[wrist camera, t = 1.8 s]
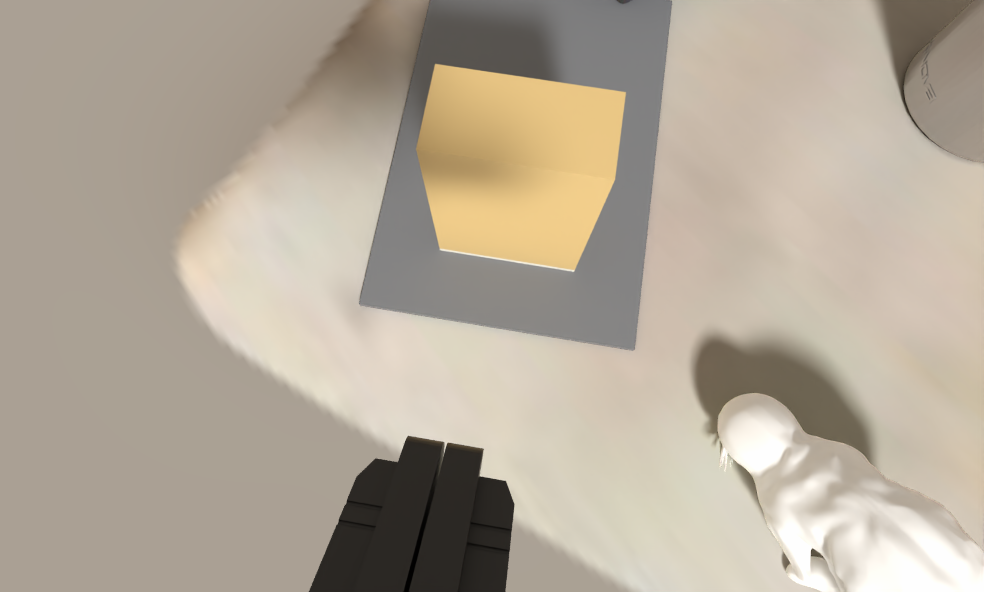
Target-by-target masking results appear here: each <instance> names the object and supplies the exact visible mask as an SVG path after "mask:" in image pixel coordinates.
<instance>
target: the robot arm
mask: <svg viewBox="0 0 984 592" xmlns="http://www.w3.org/2000/svg"><path fill="white" fill-rule="evenodd" d="M904 94H905V101H906V104H907V106H908V109H909V112H910V114H911V116H912V117H913V119H914V121H915V122H916V124H917V125H918V127H919V128H920V129H921V130H922V131H923V132H924V133H925V134H926V135H927V137H928V138H929V139H931V140H932V141H933V142H935V143H936V144H937V145H939V146H940V147H941V148H943V149H945V150H947V151H949V152H951V153H952V154H954V155H956V156H959V157H962V158H965V159H968V160H972V161H978V162H984V0H973V1H972V2H971V3H970V4H969V5H968V6H967V7H966V8H965V9H964V10H963V11H962V12H961V13H959V14H958V15H957V16H956V17H955V18H954V19H953V20H952V21H951V22H950V23H949V24H948V25H947V26H946V27H945V28H944V29H943V30H942V31H941V32H940V33H938V34H937V35H936V36H935V37H934V38H933V39H932V40H931V41H930V42H929V43H928V44H927V45H926V46H925V47H924V48H923V49H922V50H921V51H920V52H919V53H917V55H916V56H915V57H914V59H913V60H912V61H911V63H910V64H909V66H908V69H907V71H906V74H905V80H904ZM483 450H484V449H482V448H476V447H470V446H464V445H459V444H453V443H447V446H446V449H445V453H444V442H440V441H435V440H429V439H423V438H417V437H411V436H408V437H407V438H406V441H405V443H404V446H403V449H402V452H401V455H400V458H399V461H398V462H392V461H387V460H382V459H375V460H374V461H372V462H371V463H370V464H369V465H368V466H367V468H365V469H364V470H363V471H362V472H361V473H360V474H359V475H358V476H357V477H356V480H355V482H354V485H353V487H352V489H351V492H350V494H349V496H348V499H347V503H346V505H345V506H344V508H343V511H342V514H341V516H340V518H339V522H338V525H336V528H335V530H334V533H333V535H332V538H331V540H330V542H329V545H328V547H327V550H326V552H325V555H324V557H323V559H322V561H321V564H320V566H319V569H318V571H317V574H316V576H315V578H314V581H313V583H312V586H311V588H310V591H309V592H505V588H506V580H507V570H508V561H509V551H510V541H511V531H512V522H513V513H514V502H513V499H512V497H511V494H510V491H509V488H508V486H507V483H506V481H502V480H497V479H491V478H485V477H480V470H481V464H482V457H483ZM443 455H444V457H443Z"/></svg>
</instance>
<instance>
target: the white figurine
mask: <svg viewBox="0 0 984 592" xmlns="http://www.w3.org/2000/svg"><path fill="white" fill-rule="evenodd" d="M717 430H718V435H719V438H720V441H721V443H722V445H723V446H722V449H721V454H720V461H719V467H720V464H721V467H722V463H723V459H724V466H725V471H726V462H727V456H728V455H727V453H729V456H730V457H732V458H733V459H734V460H735V461H736V462H737V463H738V464H740V465H742V466H743V467H744V468H745V469H746V470H747V471H748V472H749V473H750V474H751V475H752V477H753V479H754V481H755V485H756V490H757V495H758V500H759V503H760V505H761V508H762V510H763V513H764V516H765V520H766V523H767V526H768V528H769V529H770V531H771V532H772V534H773V535H774V536H775V537H776V539H777V540H778V542H779V544H780V546H781V548H782V550H783V551H784V553H785V555H786V556H787V558H788V560H789V561H790V564H789V565H788V566H787V569H786V573H787V575H788V576H789V578H791V579H792V580H793V581H795V582H797V583H798V584H802V585H805V586H809V587H812V588H815V589H817V590H820V591H822V592H984V552H983V550H982V549H981V548H980V547H979V545H978V544H977V543H976V542H975V541H974V540H973V539H972V538H971V537H970V536H969V535H968V534H967V533H965V531H964V530H963V529H962V527H961V526H960V524H959V523H958V521H957V520H956V519H955V517H954V516H953V515H952V514H951V513H950V512H949V511H948V510H947V509H946V508H945V507H944V506H943V505H941V504H940V503H938V502H937V501H935V500H933V499H931V498H928V497H926V496H925V495H923V494H921V493H920V492H917V491H915V490H912V489H909V488H907V487H904V486H902V485H900V484H899V483H897V482H895V481H892V480H889V479H887V478H886V477H884V476H883V475H882V473H881V472H880V471H879V470H878V469H877V468H876V467H875V466H873V465H872V464H870V463H869V462H868V460H867V459H866V457H865V456H864V455H863V454H862V453H861V452H860V451H858V450H857V449H855V448H853V447H851V446H849V445H847V444H844V443H841V442H837V441H831V440H827V439H824V438H821V437H818V436H813V435H809V434H807V433H805V432H804V431H803V429H802V428H801V426H800V424H799V423H798V421H797V420H796V418H795V417H794V415H793V414H792V413H791V412H790V410H789V409H788V408H787V407H785V406H784V405H783V404H782V403H780V402H779V401H777V400H776V399H774V398H772V397H770V396H768V395H764V394H759V393H748V394H743V395H740V396H737V397H735V398H733V399H732V400H730V401H729V402H727V403H726V404H725V405H724V407H723V408H722V410H721V412H720V414H719V415H718V428H717ZM732 458H731V459H732ZM728 459H729V458H728ZM732 463H733V461H732ZM730 466H731V464H730ZM812 548H813V549H815V550H816V551H818V552H819V553H820V554H821V555H822V556H823V557H824V558H821V557H811V549H812Z"/></svg>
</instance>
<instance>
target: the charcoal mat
mask: <svg viewBox="0 0 984 592" xmlns="http://www.w3.org/2000/svg"><path fill="white" fill-rule="evenodd" d="M671 6H672V1H670V0H632V1H630V2H628V3H626V4H621V3H619V2H618V1H617V0H430V3H429V7H428V12H427V16H426V20H425V24H424V29H423V33H422V37H421V41H420V46H419V50H418V54H417V58H416V63H415V67H414V71H413V75H412V80H411V84H410V88H409V93H408V97H407V101H406V105H405V110H404V114H403V118H402V122H401V127H400V131H399V135H398V139H397V144H396V148H395V152H394V156H393V161H392V165H391V169H390V174H389V178H388V182H387V186H386V191H385V195H384V199H383V203H382V208H381V212H380V216H379V220H378V225H377V229H376V233H375V237H374V242H373V246H372V250H371V255H370V259H369V263H368V267H367V272H366V276H365V280H364V284H363V289H362V293H361V297H360V301H359V304H360V305H361V306H367V307H373V308H379V309H385V310H391V311H397V312H403V313H409V314H415V315H421V316H427V317H433V318H439V319H445V320H451V321H457V322H463V323H469V324H475V325H481V326H487V327H494V328H500V329H506V330H512V331H518V332H524V333H530V334H536V335H542V336H548V337H554V338H560V339H566V340H572V341H578V342H584V343H590V344H596V345H602V346H608V347H614V348H620V349H626V350H632V351H633V350H635V343H636V333H637V324H638V315H639V305H640V296H641V286H642V277H643V268H644V258H645V249H646V240H647V230H648V221H649V212H650V202H651V193H652V184H653V174H654V165H655V156H656V146H657V137H658V128H659V118H660V109H661V100H662V90H663V81H664V72H665V62H666V53H667V44H668V34H669V25H670V16H671ZM435 64H439V65H446V66H453V67H459V68H466V69H473V70H480V71H486V72H493V73H500V74H507V75H513V76H520V77H527V78H534V79H540V80H547V81H554V82H561V83H567V84H574V85H581V86H588V87H594V88H601V89H608V90H615V91H621V92H626V96H625V104H624V112H623V120H622V128H621V136H620V144H619V152H618V160H617V168H616V176H615V181H614V183H613V185H612V188H611V190H610V192H609V194H608V197H607V199H606V201H605V203H604V206H603V208H602V210H601V212H600V215H599V217H598V219H597V221H596V224H595V226H594V228H593V230H592V232H591V235H590V237H589V239H588V241H587V244H586V246H585V248H584V250H583V253H582V255H581V257H580V259H579V262H578V264H577V266H576V268H575V271H574V272H572V271H566V270H560V269H554V268H548V267H541V266H535V265H529V264H523V263H517V262H510V261H504V260H498V259H492V258H485V257H479V256H473V255H467V254H461V253H454V252H448V251H442V250H440V248H439V244H438V239H437V235H436V231H435V227H434V223H433V218H432V214H431V210H430V206H429V202H428V197H427V193H426V189H425V185H424V180H423V176H422V172H421V168H420V164H419V159H418V155H417V151H416V147H417V142H418V138H419V134H420V129H421V125H422V120H423V116H424V111H425V107H426V102H427V98H428V93H429V89H430V85H431V80H432V76H433V71H434V67H435Z"/></svg>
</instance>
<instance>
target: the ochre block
mask: <svg viewBox="0 0 984 592" xmlns="http://www.w3.org/2000/svg"><path fill="white" fill-rule="evenodd" d="M625 96H626V92H621V91H615V90H608V89H601V88H594V87H588V86H581V85H574V84H567V83H561V82H554V81H547V80H540V79H534V78H527V77H520V76H513V75H507V74H500V73H493V72H486V71H480V70H473V69H466V68H459V67H453V66H446V65H439V64H435V67H434V71H433V76H432V80H431V85H430V89H429V93H428V98H427V102H426V107H425V111H424V116H423V120H422V125H421V129H420V134H419V138H418V142H417V147H416V151H417V155H418V159H419V164H420V168H421V172H422V176H423V180H424V185H425V189H426V193H427V197H428V202H429V206H430V210H431V214H432V218H433V223H434V227H435V231H436V235H437V239H438V244H439V248H440V250H442V251H448V252H454V253H461V254H467V255H473V256H479V257H485V258H492V259H498V260H504V261H510V262H517V263H523V264H529V265H535V266H541V267H548V268H554V269H560V270H566V271H572V272H574V271H575V268H576V266H577V264H578V262H579V259H580V257H581V255H582V253H583V250H584V248H585V246H586V244H587V241H588V239H589V237H590V235H591V232H592V230H593V228H594V226H595V224H596V221H597V219H598V217H599V215H600V212H601V210H602V208H603V206H604V203H605V201H606V199H607V197H608V194H609V192H610V190H611V188H612V185H613V183H614V181H615V176H616V168H617V160H618V152H619V144H620V136H621V128H622V120H623V112H624V104H625Z"/></svg>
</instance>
